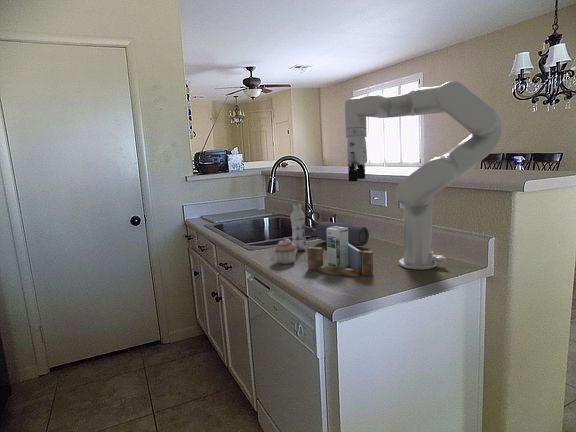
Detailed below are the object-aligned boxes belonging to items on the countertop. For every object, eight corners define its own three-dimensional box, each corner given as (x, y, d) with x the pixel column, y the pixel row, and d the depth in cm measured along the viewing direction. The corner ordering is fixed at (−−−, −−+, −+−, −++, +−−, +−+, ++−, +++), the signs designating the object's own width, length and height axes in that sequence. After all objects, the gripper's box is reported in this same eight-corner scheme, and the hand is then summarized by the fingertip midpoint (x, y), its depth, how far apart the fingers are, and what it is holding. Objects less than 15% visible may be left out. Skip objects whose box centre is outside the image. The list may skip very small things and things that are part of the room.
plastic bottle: (290, 252, 161) (288, 205, 158) (293, 248, 168) (290, 203, 164) (305, 251, 160) (303, 205, 157) (307, 247, 167) (305, 202, 163)
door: (363, 273, 128) (362, 251, 126) (359, 274, 128) (359, 251, 126) (348, 262, 142) (347, 242, 140) (345, 262, 141) (344, 242, 140)
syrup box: (327, 267, 138) (325, 228, 136) (337, 263, 142) (336, 225, 139) (338, 270, 134) (337, 229, 131) (349, 266, 138) (348, 227, 135)
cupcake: (270, 261, 149) (268, 236, 147) (291, 257, 153) (289, 233, 151) (281, 267, 141) (279, 241, 139) (302, 262, 145) (301, 237, 143)
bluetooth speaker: (370, 246, 164) (369, 223, 162) (357, 251, 157) (357, 227, 156) (328, 239, 180) (327, 219, 178) (316, 244, 173) (315, 222, 171)
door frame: (373, 274, 127) (372, 251, 126) (370, 278, 124) (369, 254, 122) (310, 268, 138) (309, 246, 136) (306, 271, 134) (304, 249, 133)
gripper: (359, 132, 130) (360, 182, 132) (372, 133, 145) (373, 177, 148) (338, 133, 133) (339, 182, 136) (353, 134, 148) (354, 178, 151)
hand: (357, 180), depth 142 cm, fingers open, 9 cm apart
